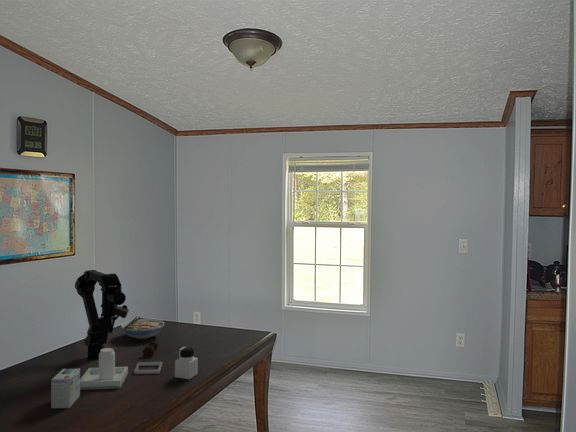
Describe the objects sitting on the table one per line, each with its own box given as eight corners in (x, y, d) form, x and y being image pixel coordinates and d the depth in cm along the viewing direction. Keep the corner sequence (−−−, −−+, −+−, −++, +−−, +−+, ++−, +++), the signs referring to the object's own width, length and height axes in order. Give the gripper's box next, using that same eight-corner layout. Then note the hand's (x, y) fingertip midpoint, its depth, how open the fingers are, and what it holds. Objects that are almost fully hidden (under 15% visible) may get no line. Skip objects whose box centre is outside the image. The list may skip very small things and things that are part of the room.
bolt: (156, 351, 238) (149, 360, 223) (147, 346, 237) (140, 354, 222) (162, 341, 238) (156, 349, 223) (153, 336, 238) (146, 344, 223)
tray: (77, 389, 183) (77, 382, 183) (88, 374, 198) (88, 367, 198) (120, 388, 185) (120, 380, 185) (127, 373, 201) (128, 366, 201)
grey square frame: (133, 374, 200) (133, 370, 200) (138, 365, 210) (138, 362, 210) (159, 373, 202) (159, 370, 202) (162, 365, 212) (162, 361, 212)
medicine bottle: (197, 374, 202) (198, 346, 202) (189, 379, 195) (189, 351, 195) (183, 371, 204) (183, 344, 204) (174, 377, 197) (174, 349, 197)
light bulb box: (62, 396, 177) (62, 368, 176) (80, 396, 177) (80, 367, 177) (50, 408, 166) (50, 378, 166) (70, 408, 167) (70, 378, 166)
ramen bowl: (157, 345, 241) (157, 329, 241) (113, 344, 242) (113, 328, 241) (169, 331, 266) (170, 317, 266) (130, 330, 267) (130, 316, 266)
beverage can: (95, 379, 190) (95, 350, 190) (106, 374, 196) (106, 346, 196) (107, 382, 188) (107, 352, 188) (118, 377, 194) (118, 348, 194)
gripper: (123, 305, 203) (122, 341, 204) (130, 297, 222) (130, 329, 222) (96, 306, 202) (96, 342, 202) (106, 297, 220) (106, 330, 220)
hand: (108, 335), depth 212 cm, fingers open, 9 cm apart
